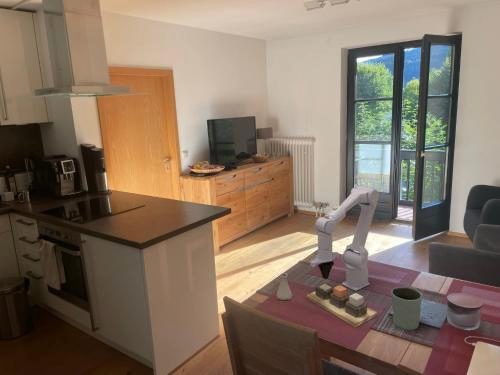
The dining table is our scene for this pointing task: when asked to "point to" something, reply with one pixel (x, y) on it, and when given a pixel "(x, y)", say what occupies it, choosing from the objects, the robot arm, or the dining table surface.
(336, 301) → the button panel
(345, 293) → the terracotta button
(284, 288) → the flask
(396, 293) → the green cylindrical pot
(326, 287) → the offwhite button
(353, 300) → the grey button
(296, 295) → the dining table surface
